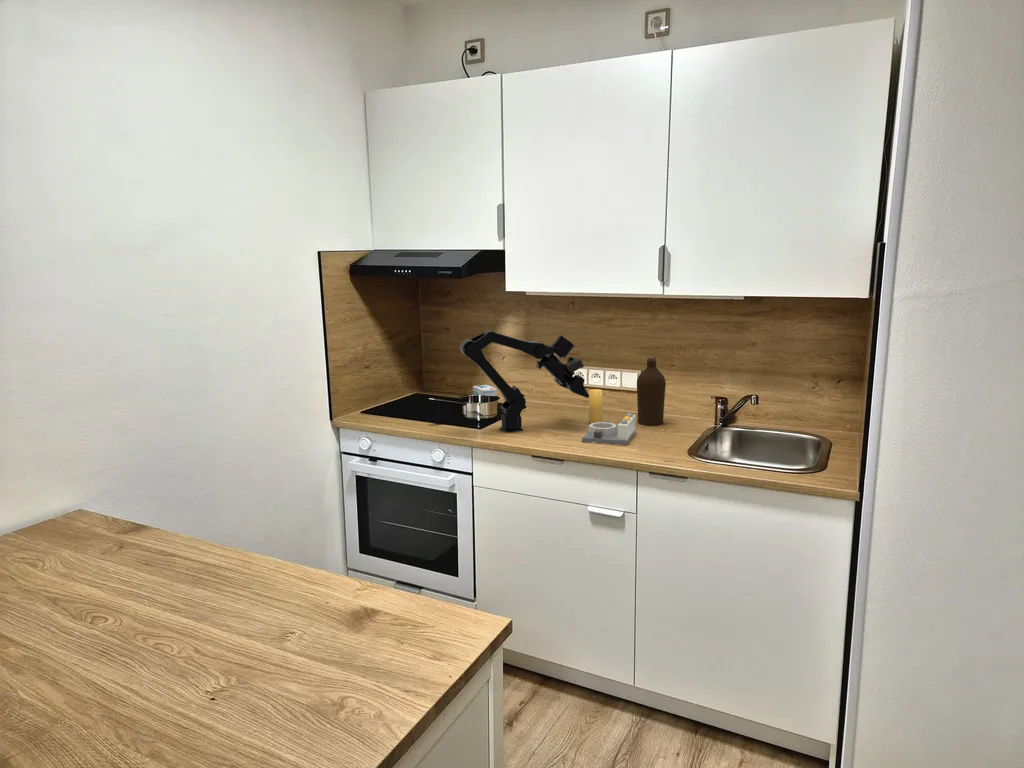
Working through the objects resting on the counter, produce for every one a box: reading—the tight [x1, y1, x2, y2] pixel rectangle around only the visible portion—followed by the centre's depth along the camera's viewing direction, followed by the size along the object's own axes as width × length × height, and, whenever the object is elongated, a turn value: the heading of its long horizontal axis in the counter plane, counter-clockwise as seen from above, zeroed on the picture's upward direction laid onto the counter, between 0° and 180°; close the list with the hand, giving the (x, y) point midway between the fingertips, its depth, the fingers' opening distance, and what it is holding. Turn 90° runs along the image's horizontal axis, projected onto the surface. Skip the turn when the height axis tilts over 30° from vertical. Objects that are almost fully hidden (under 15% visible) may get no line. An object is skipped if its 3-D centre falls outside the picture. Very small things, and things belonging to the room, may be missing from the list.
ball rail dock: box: [581, 412, 637, 446], centre depth 236 cm, size 15×18×8 cm
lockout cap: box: [588, 388, 603, 424], centre depth 256 cm, size 5×5×12 cm
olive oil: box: [636, 356, 667, 426], centre depth 254 cm, size 11×11×25 cm
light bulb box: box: [472, 384, 498, 397], centre depth 276 cm, size 11×7×11 cm, turn 25°
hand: (584, 394), depth 254 cm, fingers open, 9 cm apart
